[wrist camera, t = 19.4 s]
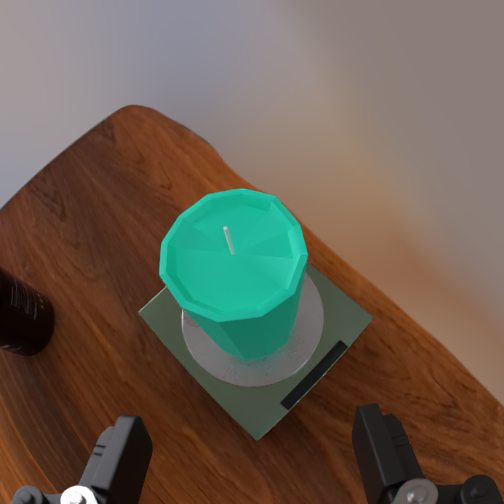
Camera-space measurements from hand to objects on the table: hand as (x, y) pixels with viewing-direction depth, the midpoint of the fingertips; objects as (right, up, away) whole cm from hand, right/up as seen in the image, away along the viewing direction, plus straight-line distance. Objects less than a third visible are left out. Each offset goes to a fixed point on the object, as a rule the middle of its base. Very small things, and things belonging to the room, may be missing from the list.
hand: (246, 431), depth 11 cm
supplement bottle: (-22, -1, +16) cm, 27 cm away
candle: (0, +2, +12) cm, 12 cm away
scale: (0, +1, +15) cm, 15 cm away
